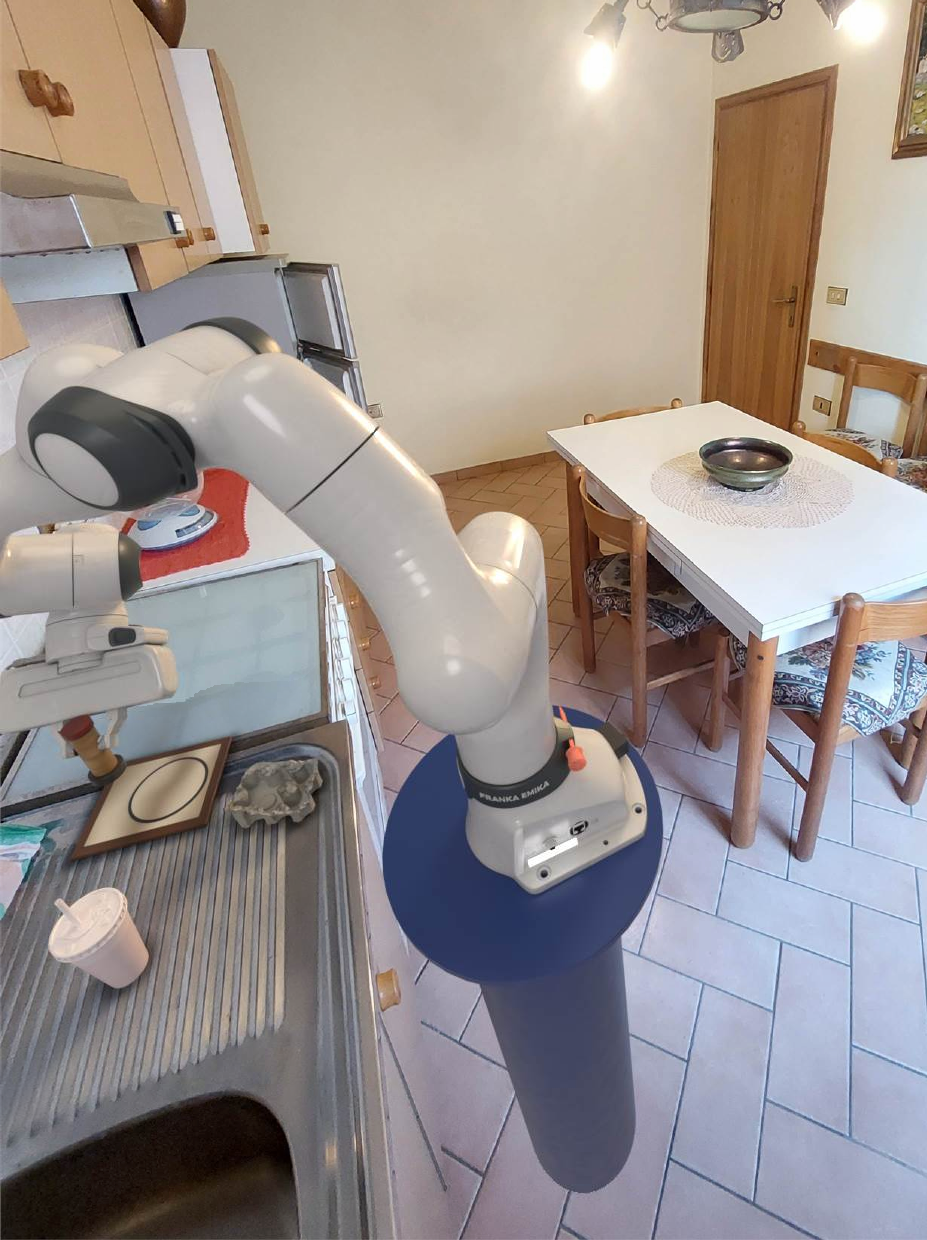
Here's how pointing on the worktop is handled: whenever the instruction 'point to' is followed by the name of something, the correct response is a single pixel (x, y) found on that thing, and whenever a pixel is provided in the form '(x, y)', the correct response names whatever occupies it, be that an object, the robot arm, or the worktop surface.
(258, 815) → the egg carton
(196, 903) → the worktop surface
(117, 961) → the smoothie
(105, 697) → the robot arm
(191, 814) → the drawing board
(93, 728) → the stamp
